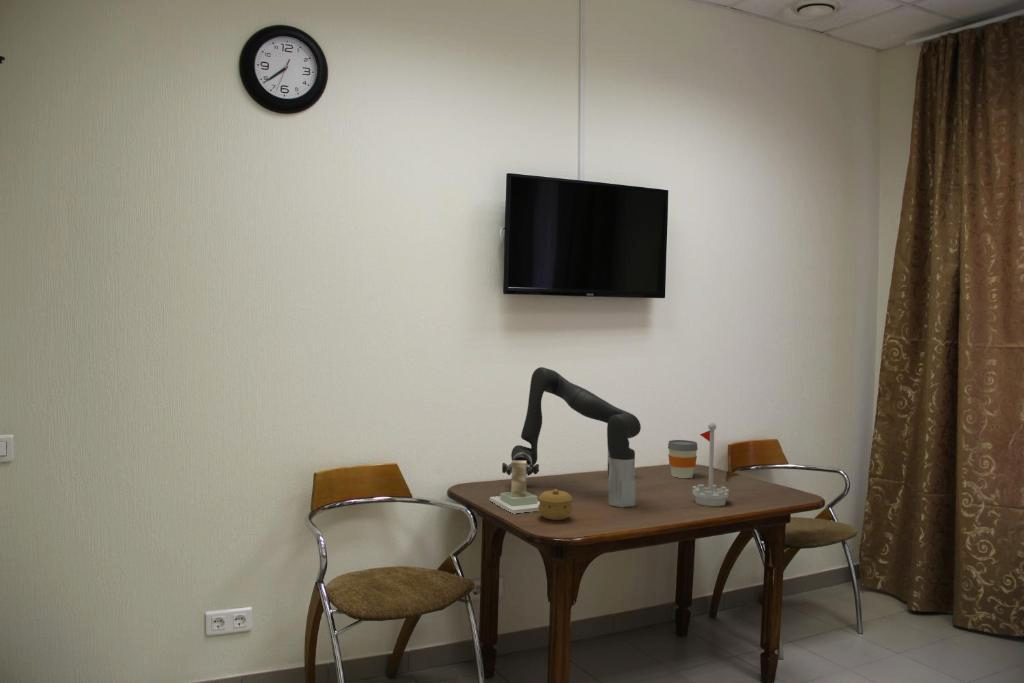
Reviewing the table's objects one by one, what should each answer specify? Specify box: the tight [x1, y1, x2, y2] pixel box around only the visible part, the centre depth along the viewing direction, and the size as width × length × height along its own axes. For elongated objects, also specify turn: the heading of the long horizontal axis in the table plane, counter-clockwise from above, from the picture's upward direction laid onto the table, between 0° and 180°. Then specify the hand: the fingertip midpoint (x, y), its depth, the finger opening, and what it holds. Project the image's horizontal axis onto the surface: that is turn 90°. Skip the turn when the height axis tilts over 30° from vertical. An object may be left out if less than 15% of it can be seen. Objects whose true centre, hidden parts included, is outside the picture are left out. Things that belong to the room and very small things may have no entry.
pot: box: [537, 488, 574, 521], centre depth 261 cm, size 12×12×10 cm
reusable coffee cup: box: [667, 439, 699, 479], centre depth 332 cm, size 13×13×15 cm
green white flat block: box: [489, 490, 540, 515], centre depth 277 cm, size 20×14×4 cm
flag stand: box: [692, 422, 730, 507], centre depth 287 cm, size 13×13×30 cm
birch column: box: [510, 460, 527, 497], centre depth 276 cm, size 5×5×12 cm
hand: (518, 472), depth 274 cm, fingers open, 6 cm apart
